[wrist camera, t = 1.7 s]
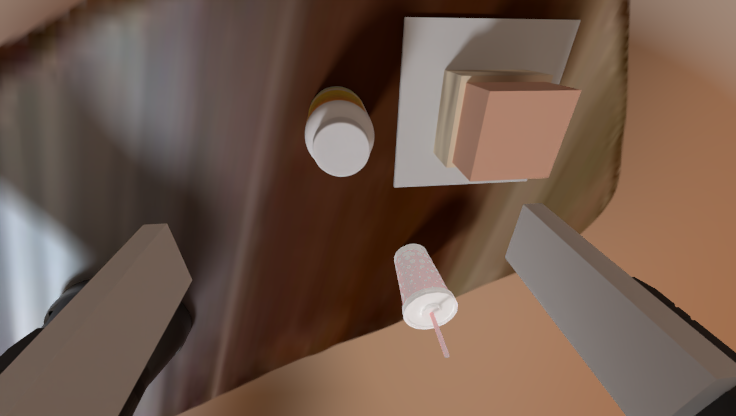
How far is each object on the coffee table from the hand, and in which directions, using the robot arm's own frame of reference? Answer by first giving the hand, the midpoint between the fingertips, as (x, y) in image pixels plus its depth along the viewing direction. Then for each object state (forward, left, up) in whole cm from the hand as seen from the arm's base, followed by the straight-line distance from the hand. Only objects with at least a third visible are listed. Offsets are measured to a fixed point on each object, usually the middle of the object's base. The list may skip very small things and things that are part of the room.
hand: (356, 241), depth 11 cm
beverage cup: (+9, -19, -20) cm, 29 cm away
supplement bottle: (0, 0, -20) cm, 20 cm away
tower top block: (+14, 0, -15) cm, 21 cm away
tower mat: (+14, 0, -20) cm, 24 cm away
